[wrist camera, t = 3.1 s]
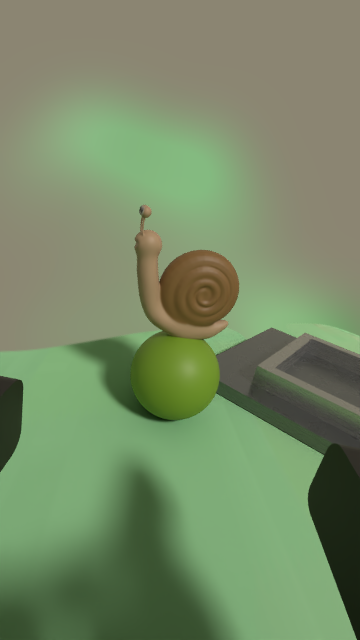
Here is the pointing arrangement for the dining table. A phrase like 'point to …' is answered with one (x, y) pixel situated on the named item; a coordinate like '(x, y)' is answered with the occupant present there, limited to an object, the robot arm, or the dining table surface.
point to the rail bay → (296, 386)
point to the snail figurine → (180, 326)
